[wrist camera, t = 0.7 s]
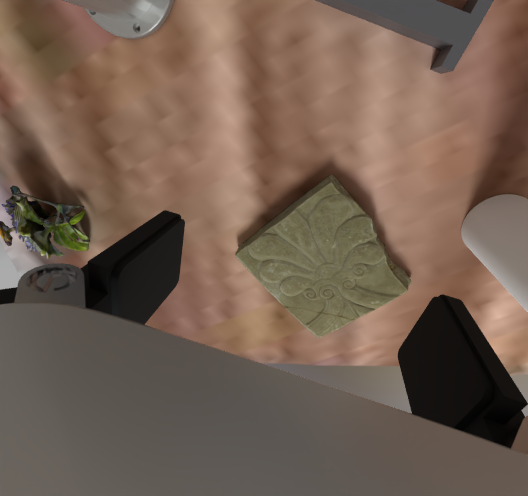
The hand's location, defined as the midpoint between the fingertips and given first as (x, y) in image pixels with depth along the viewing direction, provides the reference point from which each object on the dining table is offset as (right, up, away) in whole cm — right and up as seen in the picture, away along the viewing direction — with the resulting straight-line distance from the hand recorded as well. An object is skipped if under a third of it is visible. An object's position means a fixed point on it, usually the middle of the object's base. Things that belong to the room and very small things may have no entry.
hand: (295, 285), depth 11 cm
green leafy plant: (-34, +7, +39) cm, 52 cm away
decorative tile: (+8, 0, +34) cm, 35 cm away
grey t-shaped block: (+11, +25, +19) cm, 34 cm away
